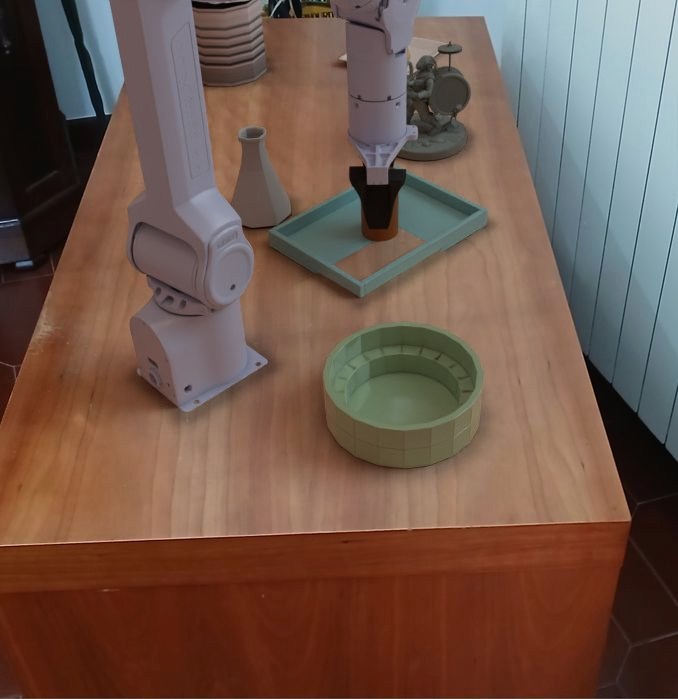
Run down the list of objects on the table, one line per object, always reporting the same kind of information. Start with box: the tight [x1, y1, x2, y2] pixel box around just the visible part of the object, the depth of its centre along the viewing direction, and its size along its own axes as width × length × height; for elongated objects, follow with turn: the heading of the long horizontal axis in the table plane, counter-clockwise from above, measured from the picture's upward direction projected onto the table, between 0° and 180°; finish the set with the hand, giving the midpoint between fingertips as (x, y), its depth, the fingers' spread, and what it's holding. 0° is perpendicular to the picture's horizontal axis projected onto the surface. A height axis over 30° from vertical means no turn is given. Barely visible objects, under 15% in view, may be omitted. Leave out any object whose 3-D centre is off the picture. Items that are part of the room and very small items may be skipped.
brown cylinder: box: [361, 166, 399, 242], centre depth 97 cm, size 4×4×10 cm
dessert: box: [338, 35, 449, 77], centre depth 133 cm, size 12×12×5 cm
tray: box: [267, 164, 489, 299], centre depth 100 cm, size 19×14×2 cm
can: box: [191, 0, 268, 88], centre depth 130 cm, size 11×11×12 cm
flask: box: [230, 125, 292, 229], centre depth 101 cm, size 7×7×10 cm
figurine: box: [396, 41, 472, 161], centre depth 112 cm, size 11×11×12 cm
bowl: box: [322, 320, 485, 469], centre depth 78 cm, size 13×13×5 cm
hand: (378, 209), depth 98 cm, fingers open, 6 cm apart
